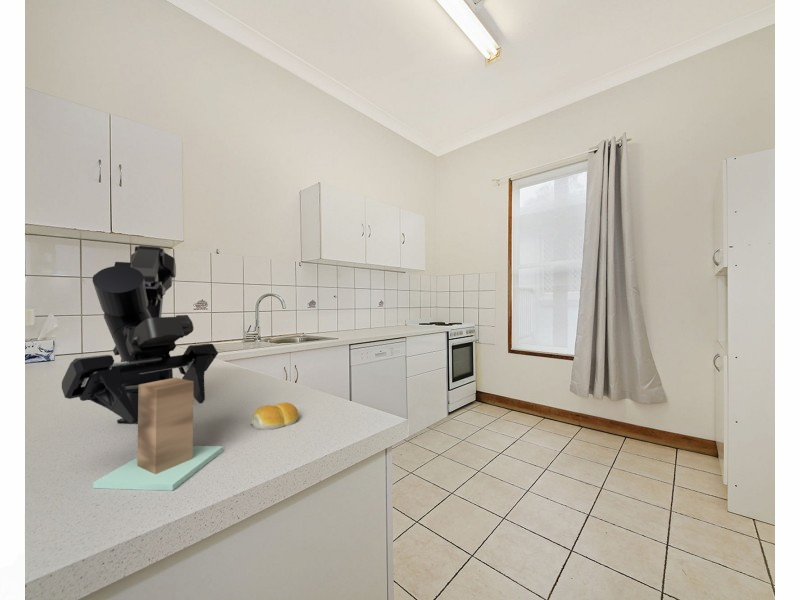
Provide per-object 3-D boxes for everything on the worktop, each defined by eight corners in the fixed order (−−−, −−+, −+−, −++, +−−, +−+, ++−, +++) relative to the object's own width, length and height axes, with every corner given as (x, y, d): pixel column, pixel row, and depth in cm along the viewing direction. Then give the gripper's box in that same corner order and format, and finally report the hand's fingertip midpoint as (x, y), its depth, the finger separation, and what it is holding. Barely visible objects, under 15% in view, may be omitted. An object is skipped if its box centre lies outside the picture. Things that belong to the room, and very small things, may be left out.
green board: (93, 488, 42) (93, 482, 42) (159, 449, 53) (159, 444, 53) (172, 490, 42) (172, 484, 42) (222, 451, 52) (222, 446, 52)
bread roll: (305, 422, 66) (305, 403, 66) (263, 434, 60) (263, 414, 60) (286, 412, 72) (286, 394, 72) (245, 423, 65) (246, 404, 65)
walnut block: (137, 465, 46) (138, 384, 46) (174, 451, 51) (175, 377, 51) (155, 474, 44) (156, 389, 44) (192, 458, 48) (193, 381, 48)
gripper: (71, 297, 41) (109, 394, 36) (212, 299, 57) (252, 365, 52) (48, 352, 44) (79, 447, 39) (187, 339, 61) (222, 404, 56)
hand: (171, 410), depth 47 cm, fingers open, 9 cm apart
